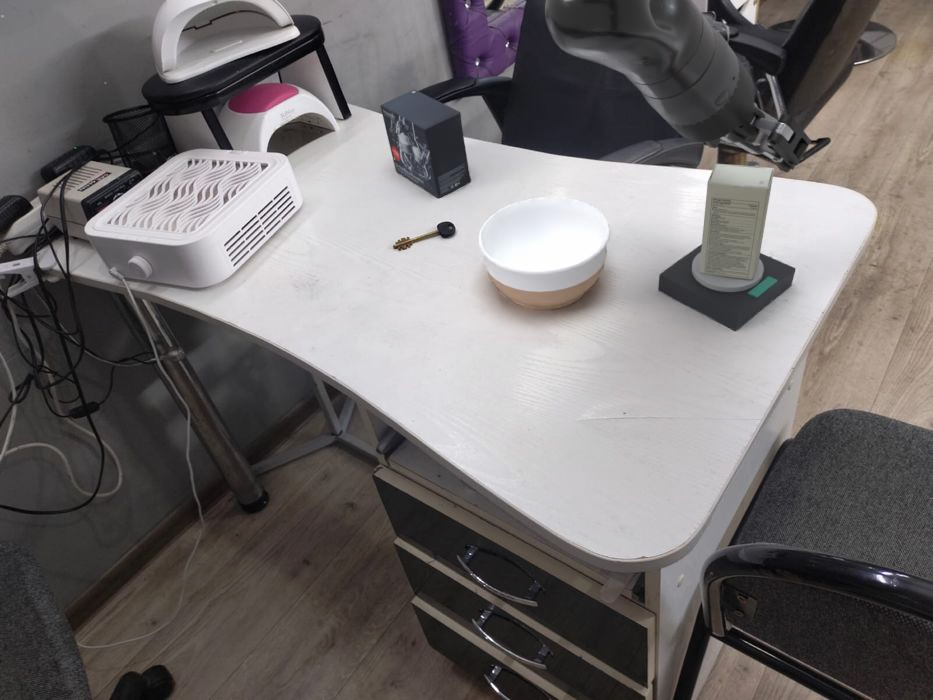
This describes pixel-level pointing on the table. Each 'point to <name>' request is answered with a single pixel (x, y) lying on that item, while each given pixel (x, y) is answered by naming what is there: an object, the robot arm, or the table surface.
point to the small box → (426, 142)
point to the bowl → (545, 250)
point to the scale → (725, 288)
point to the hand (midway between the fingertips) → (752, 150)
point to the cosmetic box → (735, 220)
